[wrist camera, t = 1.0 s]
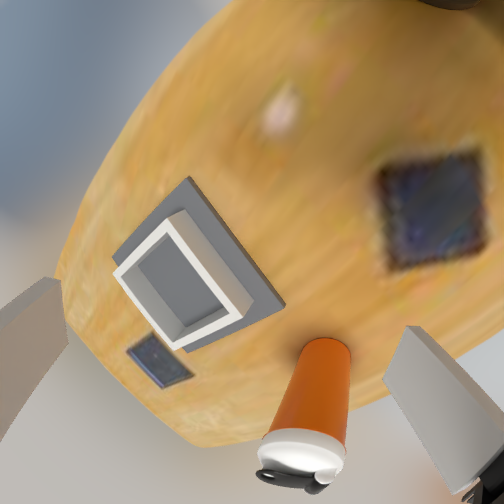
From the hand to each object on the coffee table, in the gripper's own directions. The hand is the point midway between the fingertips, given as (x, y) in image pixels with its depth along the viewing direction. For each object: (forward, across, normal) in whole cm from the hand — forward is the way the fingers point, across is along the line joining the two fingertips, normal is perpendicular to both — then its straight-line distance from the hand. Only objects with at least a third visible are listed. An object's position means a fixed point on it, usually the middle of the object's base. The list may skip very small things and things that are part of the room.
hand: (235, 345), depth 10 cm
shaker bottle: (+23, +16, -16) cm, 33 cm away
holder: (+30, -5, -10) cm, 32 cm away
